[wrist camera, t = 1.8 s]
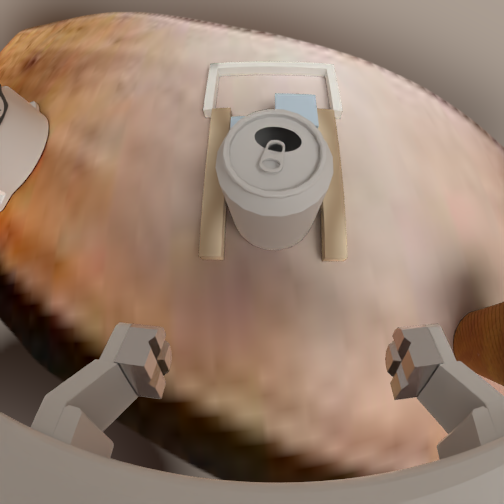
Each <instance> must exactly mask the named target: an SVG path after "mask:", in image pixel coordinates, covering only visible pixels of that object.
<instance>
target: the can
mask: <svg viewBox="0 0 504 504" xmlns="http://www.w3.org/2000/svg"><path fill="white" fill-rule="evenodd" d="M215 168H216V172H217V176H218V180H219V184H220V187H221V189H222V192H223V195H224V197H225V200H226V202H227V205H228V208H229V210H230V213H231V215H232V218H233V221H234V223H235V226H236V228H237V229H238V231H239V232H240V234H241V235H242V237H243V238H244V239H246V240H247V241H248V242H250V243H251V244H252V245H254V246H257V247H259V248H262V249H265V250H281V249H285V248H289V247H292V246H293V245H295V244H296V243H298V242H299V241H301V240H302V239H303V238H304V237H305V235H306V234H307V233H308V232H309V230H310V228H311V226H312V224H313V222H314V219H315V217H316V215H317V213H318V211H319V208H320V206H321V204H322V202H323V199H324V197H325V195H326V192H327V190H328V188H329V185H330V182H331V179H332V176H333V156H332V154H331V152H330V149H329V147H328V144H327V142H326V141H325V140H324V138H323V135H322V133H321V132H320V131H319V130H318V128H317V127H316V126H315V125H314V124H313V123H312V122H311V121H309V120H308V119H306V118H305V117H303V116H301V115H300V114H297V113H294V112H291V111H287V110H283V109H266V110H261V111H257V112H253V113H251V114H249V115H247V116H245V117H243V118H241V119H240V120H239V121H238V122H237V123H236V124H235V125H234V126H233V127H231V128H230V130H229V132H228V134H227V136H226V137H225V138H224V140H223V142H222V144H221V146H220V148H219V150H218V151H217V159H216V167H215Z"/></svg>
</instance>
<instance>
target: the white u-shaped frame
mask: <svg viewBox="0 0 504 504" xmlns="http://www.w3.org/2000/svg"><path fill="white" fill-rule="evenodd" d="M234 75H303V76H320V77H325V79H326V85H327V91H328V98H329V104H330V109H332V110H334V114H335V118H336V119H340V118H341V115H342V112H343V110H342V104H341V98H340V93H339V88H338V83H337V78H336V73H335V68H334V64H324V63H309V62H286V61H252V62H228V63H213V64H210V69H209V75H208V81H207V87H206V93H205V100H204V107H203V111H204V114H205V118H210V117H211V112H212V109H215V107H216V99H217V91H218V83H219V76H234Z"/></svg>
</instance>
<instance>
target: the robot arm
mask: <svg viewBox="0 0 504 504" xmlns="http://www.w3.org/2000/svg"><path fill="white" fill-rule="evenodd" d="M48 129H49V126H48V120H47V118H46V117H45V116H44V115H43V114H41V113H40V111H39V105H38V104H37V103H36V102H34V101H32V102H30V103H29V102H27V101H26V100H25V99H24V98H22V97H21V96H20V95H19V94H17V93H16V92H15V91H13V90H12V89H11V88H9V87H8V86H4V87H1V84H0V212H1V211H2V210H3V208H4V207H5V205H6V204H7V202H8V200H9V198H10V197H11V195H12V194H13V193H14V192H15V190H16V189H17V188H18V187H19V186H20V185H21V184H22V183H23V182H24V181H25V180H26V179H27V177H28V176H29V175H30V173H31V172H32V170H33V169H34V167H35V165H36V164H37V162H38V160H39V158H40V156H41V154H42V152H43V149H44V147H45V144H46V140H47V136H48ZM165 337H166V333H165V331H164V328H163V327H157V326H148V325H140V324H130V323H122V322H119V323H118V324H117V325H116V326H115V328H114V330H113V332H112V334H111V336H110V338H109V340H108V342H107V344H106V346H105V348H104V351H103V353H102V355H101V357H100V359H99V360H96V359H95V360H94V361H92V362H91V363H90V364H88V365H87V366H85V367H84V368H83V369H81V370H80V371H78V372H77V373H76V374H74V375H73V376H72V377H70V378H69V379H67V380H66V381H65V382H63V383H62V384H60V385H59V386H58V387H56V388H55V389H54V390H52V391H51V392H49V393H48V394H47V395H45V397H44V399H43V401H42V404H41V406H40V408H39V410H38V412H37V414H36V417H35V419H34V421H33V424H32V426H31V428H30V427H28V426H26V425H24V424H22V423H20V422H18V421H16V420H14V419H12V418H10V417H9V416H7V415H5V414H3V413H1V412H0V504H504V396H503V395H502V394H501V393H499V392H498V391H497V390H496V389H494V388H493V387H492V386H491V385H490V384H488V383H487V382H486V381H485V380H483V379H482V378H481V377H480V376H479V375H477V374H476V373H475V372H474V371H472V370H471V369H470V368H469V367H467V366H466V365H465V364H464V363H462V362H461V361H456V359H455V356H454V354H453V352H452V350H451V347H450V345H449V343H448V341H447V339H446V336H445V334H444V332H443V330H442V328H441V326H440V325H439V324H430V325H419V326H409V327H398V328H397V329H396V330H395V331H394V334H393V339H394V341H393V342H392V343H390V344H389V345H388V348H387V351H386V358H385V361H386V368H387V372H388V373H389V374H390V375H391V376H392V377H393V379H392V381H391V383H390V384H391V388H392V392H393V396H394V400H398V399H406V398H413V397H417V399H418V400H419V401H420V402H421V403H422V405H423V406H424V407H425V408H426V409H427V410H428V411H429V412H430V414H431V415H432V416H433V417H434V418H435V419H436V420H437V422H438V423H439V424H440V425H441V426H442V427H443V428H444V430H445V431H446V432H447V433H448V435H447V436H446V437H444V438H443V439H442V440H441V441H440V442H439V443H438V445H437V449H438V454H439V459H440V460H437V461H434V462H430V463H426V464H423V465H419V466H415V467H411V468H406V469H402V470H397V471H392V472H387V473H382V474H376V475H370V476H364V477H357V478H349V479H340V480H330V481H317V482H296V483H260V482H240V481H227V480H216V479H207V478H199V477H192V476H185V475H180V474H174V473H168V472H163V471H158V470H154V469H149V468H144V467H140V466H136V465H132V464H129V463H125V462H121V461H118V460H114V459H111V458H110V456H111V453H112V449H113V446H114V444H113V442H112V440H110V439H109V438H108V437H107V436H106V435H105V434H104V433H103V431H104V430H105V429H106V428H107V427H108V426H109V425H110V424H111V423H112V422H113V421H114V420H115V419H116V418H117V417H118V416H119V415H120V414H121V413H122V412H123V411H124V410H125V409H126V408H127V407H128V406H129V405H130V404H131V403H132V402H133V401H134V400H135V399H136V398H137V396H143V397H150V398H157V399H161V398H162V395H163V391H164V388H165V384H166V381H165V379H164V377H163V376H164V375H165V374H166V373H168V372H169V370H170V366H171V360H172V353H171V347H170V344H169V343H168V342H166V341H165Z"/></svg>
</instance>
